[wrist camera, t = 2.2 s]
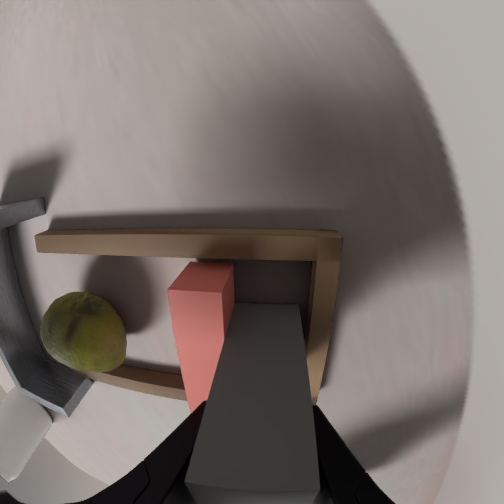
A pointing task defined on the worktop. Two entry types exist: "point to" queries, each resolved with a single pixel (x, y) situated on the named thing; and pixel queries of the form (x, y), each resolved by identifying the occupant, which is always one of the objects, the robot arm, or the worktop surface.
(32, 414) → the can
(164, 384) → the brown wooden flat frame
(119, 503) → the robot arm
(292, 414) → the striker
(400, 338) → the worktop surface
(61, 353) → the lime
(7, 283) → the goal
